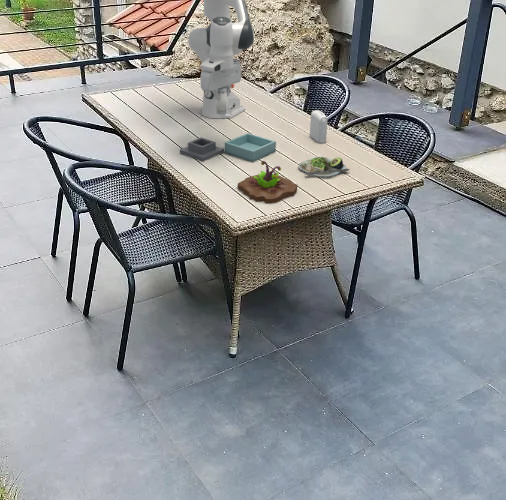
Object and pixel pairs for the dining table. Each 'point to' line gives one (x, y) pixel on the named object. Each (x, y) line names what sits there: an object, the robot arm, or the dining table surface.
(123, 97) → the dining table surface
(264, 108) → the dining table surface
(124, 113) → the dining table surface
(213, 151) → the grey square socket
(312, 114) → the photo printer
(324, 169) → the salad plate
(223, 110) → the cylinder
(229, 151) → the parts tray
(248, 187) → the plant
